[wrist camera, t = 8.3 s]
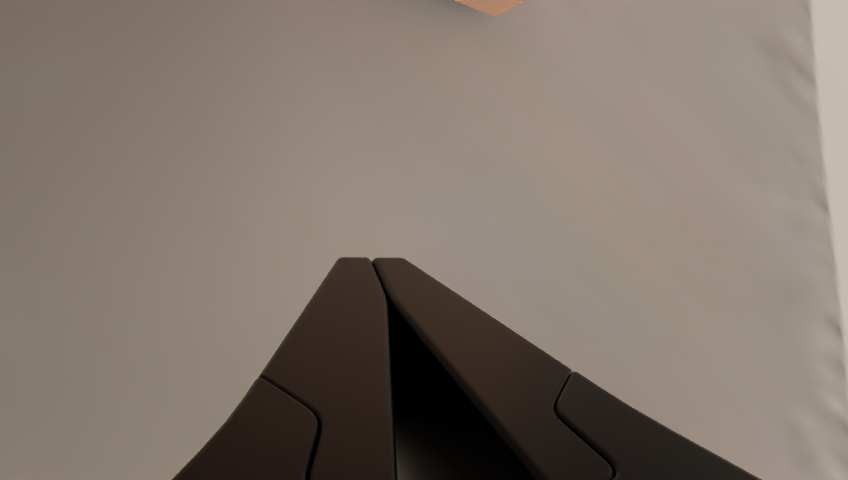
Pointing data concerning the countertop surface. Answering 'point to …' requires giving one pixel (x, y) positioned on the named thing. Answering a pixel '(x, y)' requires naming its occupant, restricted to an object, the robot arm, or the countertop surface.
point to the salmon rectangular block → (491, 5)
